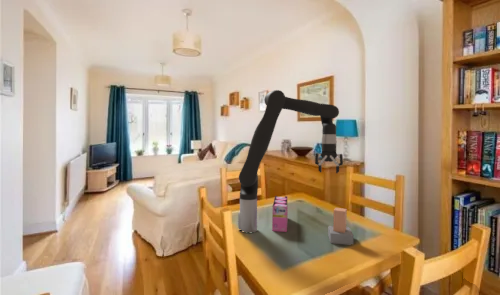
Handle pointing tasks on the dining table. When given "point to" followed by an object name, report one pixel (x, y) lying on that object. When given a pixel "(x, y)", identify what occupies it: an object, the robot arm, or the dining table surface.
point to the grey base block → (340, 236)
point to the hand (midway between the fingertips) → (328, 172)
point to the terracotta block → (340, 220)
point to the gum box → (280, 214)
